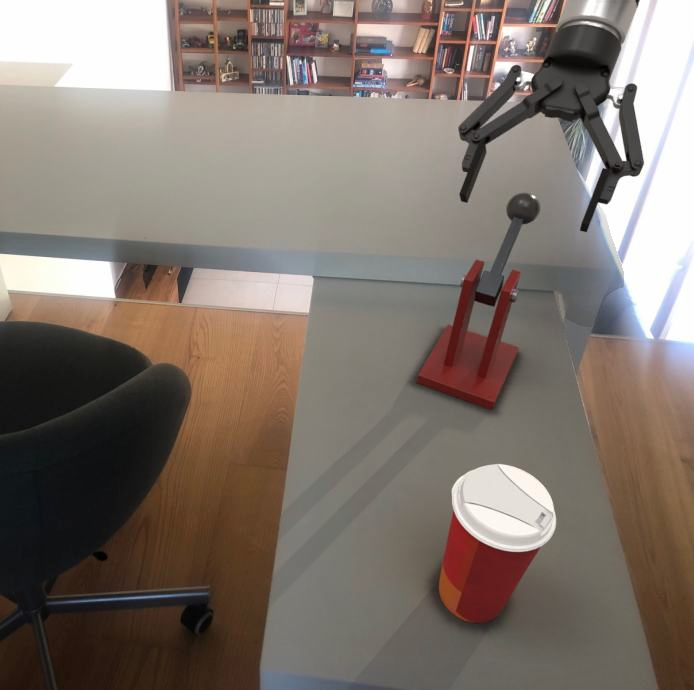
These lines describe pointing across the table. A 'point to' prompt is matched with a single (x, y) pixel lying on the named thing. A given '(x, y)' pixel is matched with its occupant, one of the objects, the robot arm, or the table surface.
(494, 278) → the lever
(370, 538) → the table surface
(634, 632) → the table surface
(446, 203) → the table surface
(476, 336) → the bracket
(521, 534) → the paper cup
